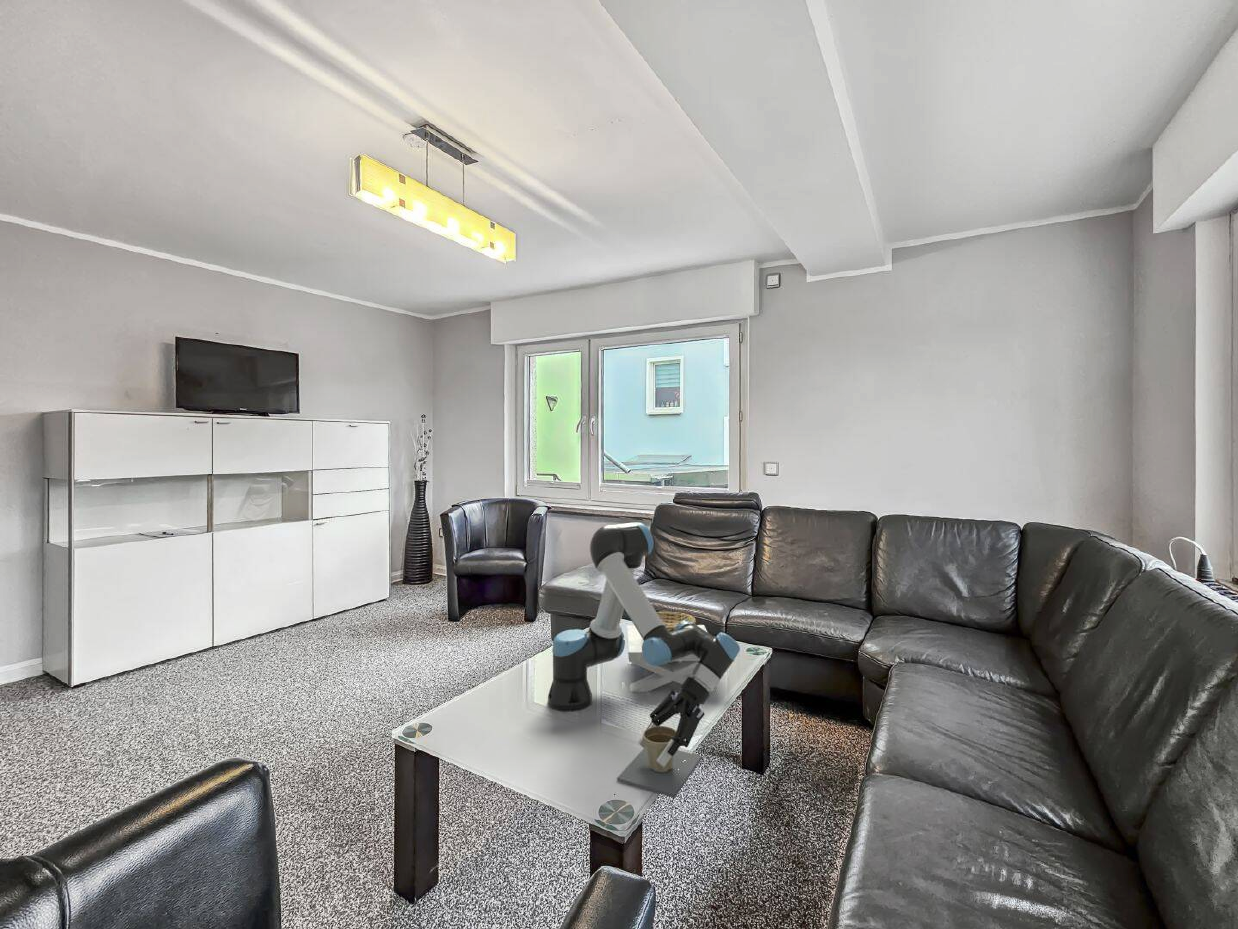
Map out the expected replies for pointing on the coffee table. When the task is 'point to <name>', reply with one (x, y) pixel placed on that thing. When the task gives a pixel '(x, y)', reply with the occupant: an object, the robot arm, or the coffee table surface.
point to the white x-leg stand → (663, 671)
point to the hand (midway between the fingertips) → (650, 754)
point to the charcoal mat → (660, 773)
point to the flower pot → (658, 745)
